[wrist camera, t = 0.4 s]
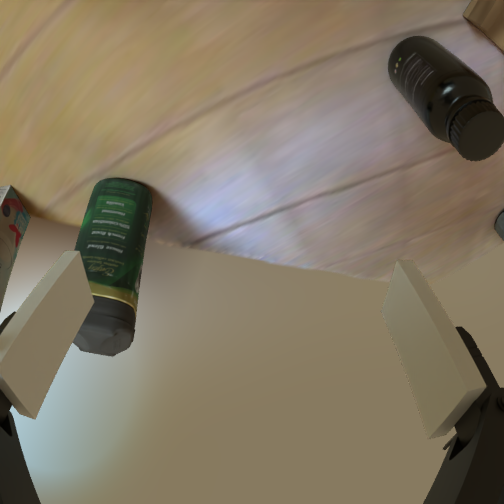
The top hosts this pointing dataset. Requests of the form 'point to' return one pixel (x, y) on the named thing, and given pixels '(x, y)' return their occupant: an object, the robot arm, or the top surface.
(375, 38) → the top surface
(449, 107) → the supplement bottle
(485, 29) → the dish rack
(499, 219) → the moka pot
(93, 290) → the coffee jar
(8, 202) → the juice carton
